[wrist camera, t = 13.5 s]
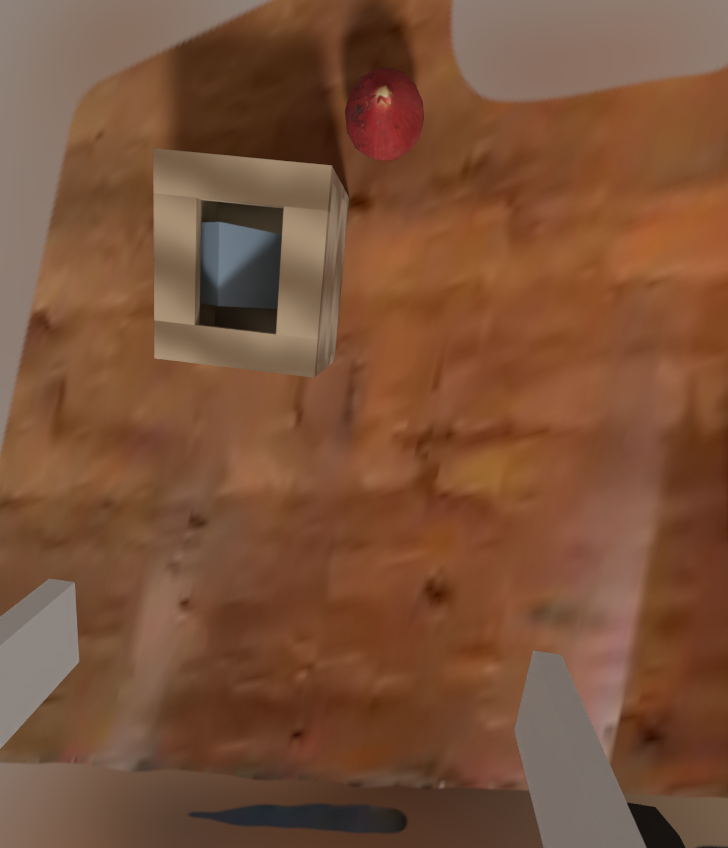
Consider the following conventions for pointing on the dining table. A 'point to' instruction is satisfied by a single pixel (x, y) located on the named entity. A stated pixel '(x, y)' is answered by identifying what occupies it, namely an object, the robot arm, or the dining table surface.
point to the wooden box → (299, 267)
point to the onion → (384, 114)
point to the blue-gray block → (239, 266)
